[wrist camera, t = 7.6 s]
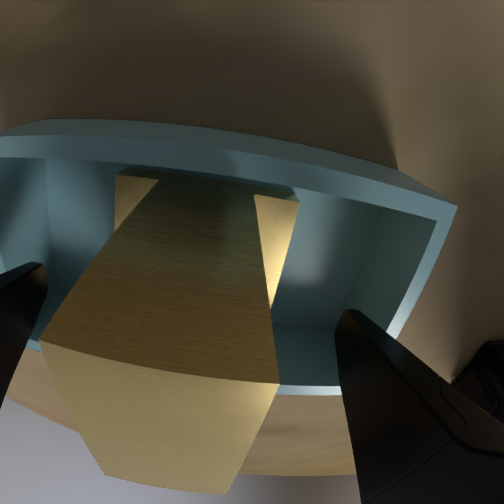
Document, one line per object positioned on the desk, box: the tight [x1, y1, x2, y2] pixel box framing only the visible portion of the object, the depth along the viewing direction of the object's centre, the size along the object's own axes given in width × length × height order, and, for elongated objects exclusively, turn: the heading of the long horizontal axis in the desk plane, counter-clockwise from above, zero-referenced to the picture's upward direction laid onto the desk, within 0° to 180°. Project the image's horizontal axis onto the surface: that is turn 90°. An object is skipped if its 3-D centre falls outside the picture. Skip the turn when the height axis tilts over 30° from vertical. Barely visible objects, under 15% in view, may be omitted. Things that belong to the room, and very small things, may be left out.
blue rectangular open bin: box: [0, 119, 458, 395], centre depth 10 cm, size 14×8×4 cm, turn 79°
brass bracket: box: [38, 168, 300, 495], centre depth 8 cm, size 6×5×8 cm
